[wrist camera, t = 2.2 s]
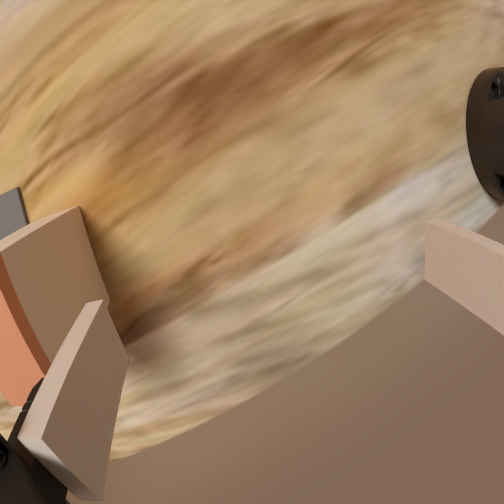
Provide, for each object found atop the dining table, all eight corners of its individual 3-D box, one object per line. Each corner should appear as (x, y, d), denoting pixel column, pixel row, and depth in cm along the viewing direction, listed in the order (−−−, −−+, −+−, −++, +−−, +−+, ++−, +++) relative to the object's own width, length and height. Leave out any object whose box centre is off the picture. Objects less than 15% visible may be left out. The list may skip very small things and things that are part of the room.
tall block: (78, 205, 21) (-11, 259, 10) (110, 300, 24) (63, 404, 13) (37, 219, 21) (-58, 277, 10) (70, 309, 24) (11, 406, 12)
